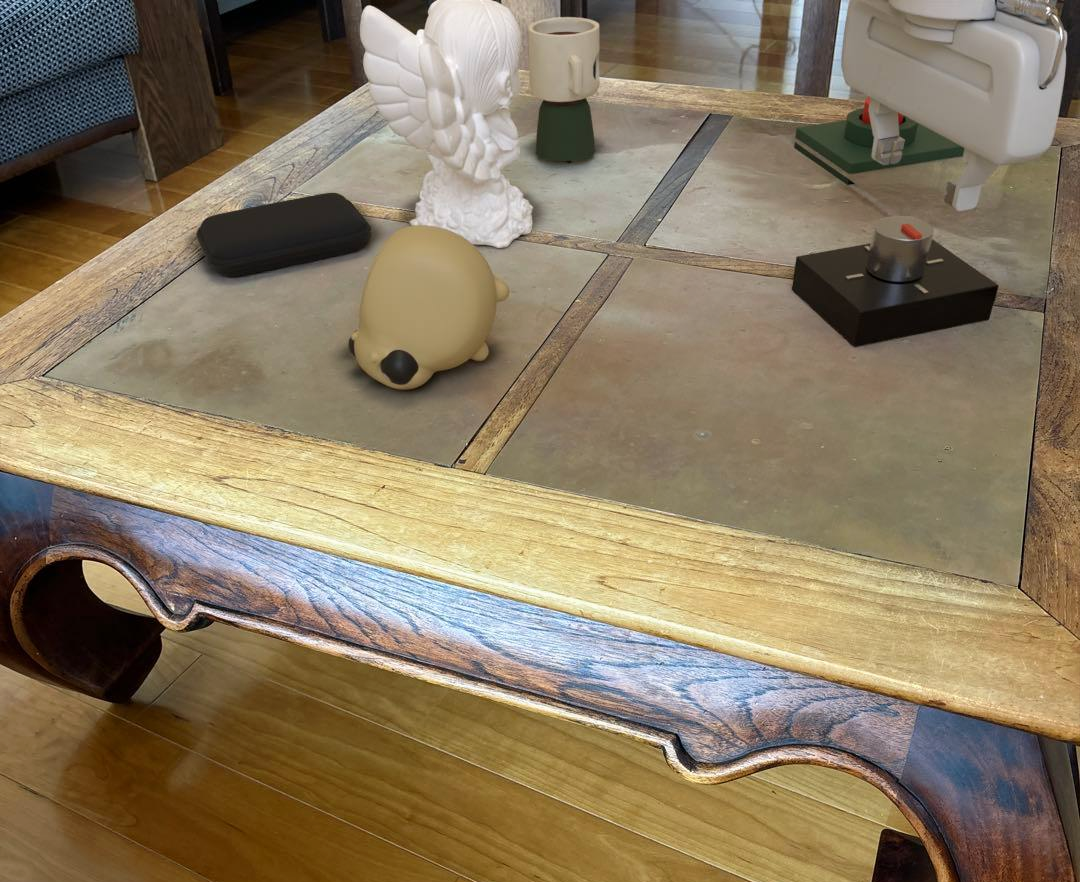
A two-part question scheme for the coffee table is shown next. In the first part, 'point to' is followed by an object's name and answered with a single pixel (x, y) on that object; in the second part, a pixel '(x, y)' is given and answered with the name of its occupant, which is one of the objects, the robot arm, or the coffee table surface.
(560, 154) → the character mug
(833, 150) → the lamp switch
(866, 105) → the light button
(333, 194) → the carrying case
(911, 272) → the dimmer knob
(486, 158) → the cherub figurine
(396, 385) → the tan pug toy
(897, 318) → the dimmer panel
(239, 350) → the coffee table surface
